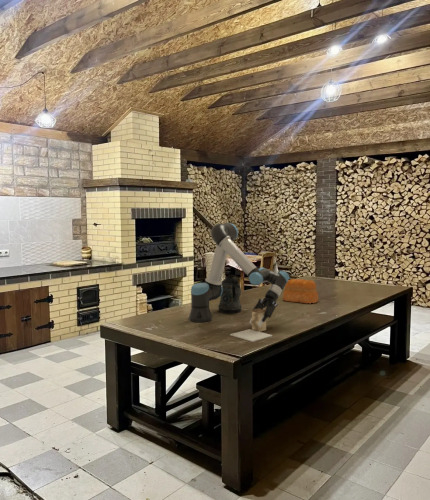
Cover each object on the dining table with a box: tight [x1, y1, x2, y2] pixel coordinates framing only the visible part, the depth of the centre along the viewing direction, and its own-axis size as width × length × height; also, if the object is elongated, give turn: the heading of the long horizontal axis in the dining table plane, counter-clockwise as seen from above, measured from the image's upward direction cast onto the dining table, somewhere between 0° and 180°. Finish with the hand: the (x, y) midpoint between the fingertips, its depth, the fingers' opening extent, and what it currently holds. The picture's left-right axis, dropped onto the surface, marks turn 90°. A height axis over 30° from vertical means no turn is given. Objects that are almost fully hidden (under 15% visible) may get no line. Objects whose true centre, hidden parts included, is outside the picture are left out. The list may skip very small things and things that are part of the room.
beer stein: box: [218, 275, 242, 314], centre depth 311 cm, size 16×19×25 cm
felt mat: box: [229, 328, 273, 343], centre depth 249 cm, size 18×16×1 cm
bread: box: [282, 278, 319, 305], centre depth 344 cm, size 16×26×17 cm, turn 56°
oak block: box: [251, 308, 267, 332], centre depth 261 cm, size 6×6×12 cm
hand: (254, 324), depth 258 cm, fingers closed on oak block, 6 cm apart
